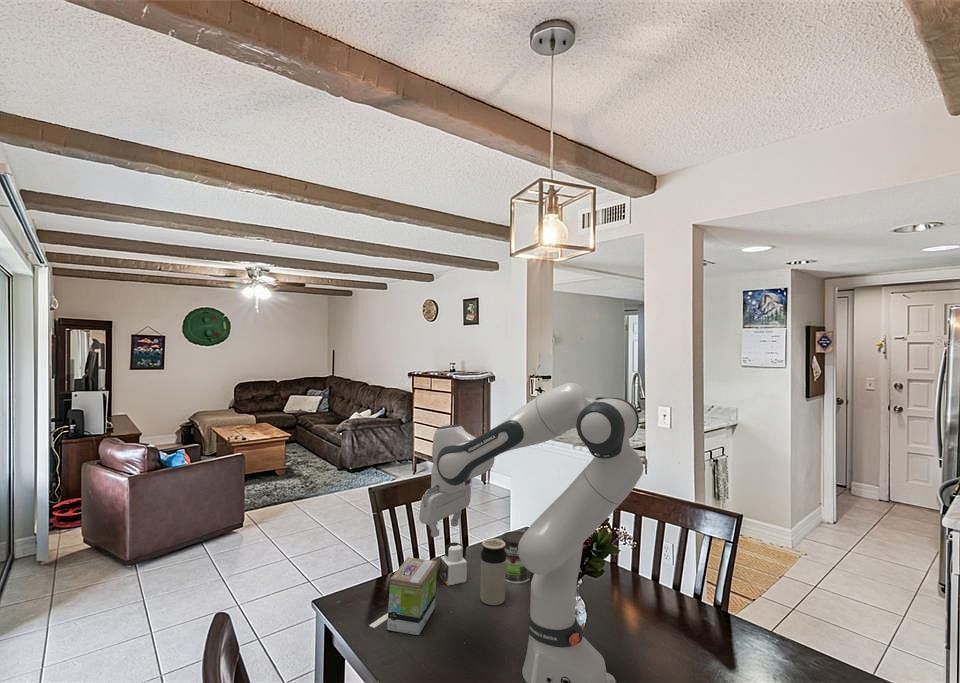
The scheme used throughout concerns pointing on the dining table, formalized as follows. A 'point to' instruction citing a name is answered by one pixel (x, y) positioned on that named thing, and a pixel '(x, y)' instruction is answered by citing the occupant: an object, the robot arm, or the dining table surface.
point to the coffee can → (514, 559)
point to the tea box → (412, 596)
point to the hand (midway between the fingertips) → (445, 530)
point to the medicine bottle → (453, 565)
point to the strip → (379, 621)
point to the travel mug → (493, 572)
